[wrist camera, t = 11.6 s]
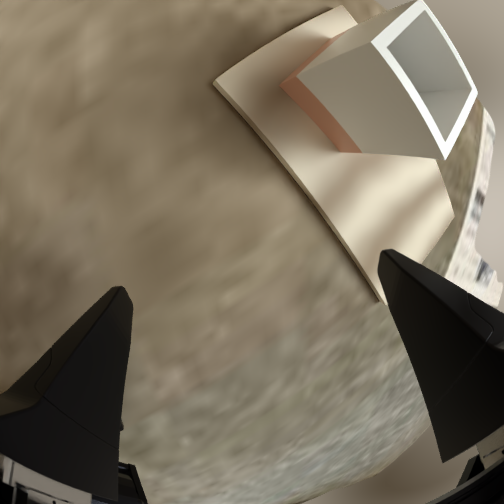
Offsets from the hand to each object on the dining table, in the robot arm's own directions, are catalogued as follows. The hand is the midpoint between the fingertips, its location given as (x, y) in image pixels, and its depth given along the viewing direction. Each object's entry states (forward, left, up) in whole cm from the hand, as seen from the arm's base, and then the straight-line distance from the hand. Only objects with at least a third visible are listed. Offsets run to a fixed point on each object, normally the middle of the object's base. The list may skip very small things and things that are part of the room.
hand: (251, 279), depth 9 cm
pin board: (+5, -13, -10) cm, 17 cm away
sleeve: (+10, -8, -9) cm, 16 cm away
